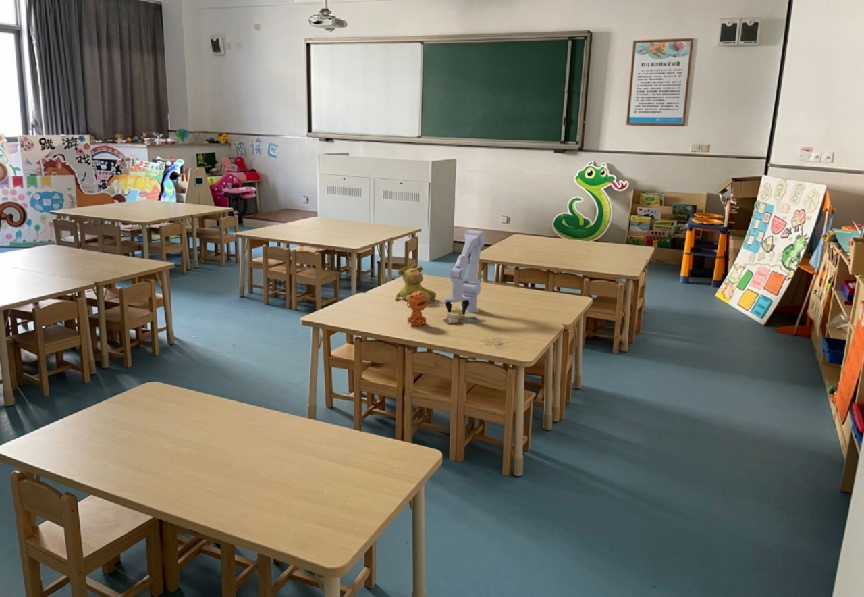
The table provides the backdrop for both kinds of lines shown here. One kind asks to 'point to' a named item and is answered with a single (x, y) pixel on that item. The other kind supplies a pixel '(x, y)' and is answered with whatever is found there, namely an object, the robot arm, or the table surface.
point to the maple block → (452, 317)
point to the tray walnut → (452, 323)
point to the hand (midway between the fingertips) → (456, 315)
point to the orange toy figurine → (417, 308)
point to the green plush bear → (413, 284)
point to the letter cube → (457, 311)
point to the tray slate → (471, 319)
